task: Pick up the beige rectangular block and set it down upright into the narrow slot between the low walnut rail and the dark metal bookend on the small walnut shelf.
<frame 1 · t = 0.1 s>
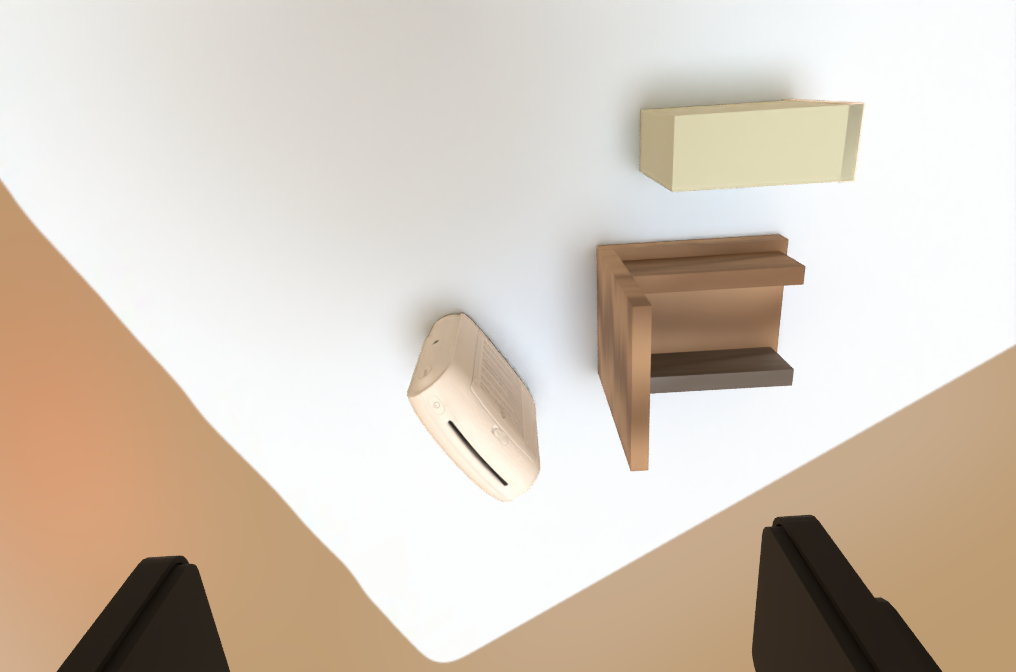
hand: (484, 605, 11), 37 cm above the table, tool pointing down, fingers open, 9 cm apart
beige rectangular block: (714, 136, 43), on the table
shelf: (685, 306, 47), on the table
photo printer: (480, 366, 49), on the table
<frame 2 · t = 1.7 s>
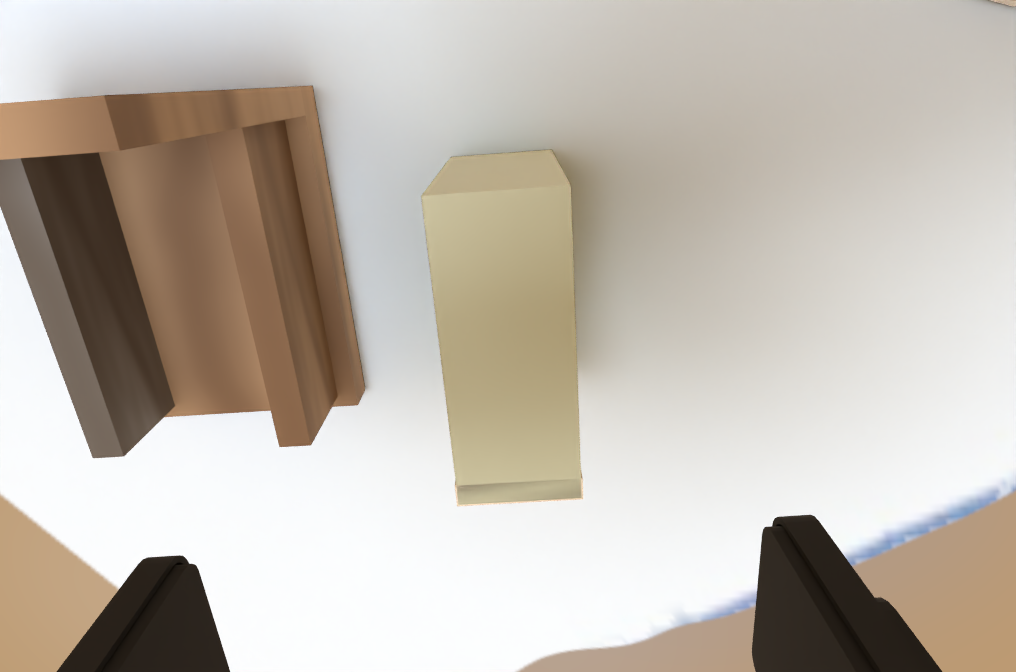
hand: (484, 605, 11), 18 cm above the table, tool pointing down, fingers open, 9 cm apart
beige rectangular block: (509, 274, 27), on the table
shelf: (224, 259, 27), on the table
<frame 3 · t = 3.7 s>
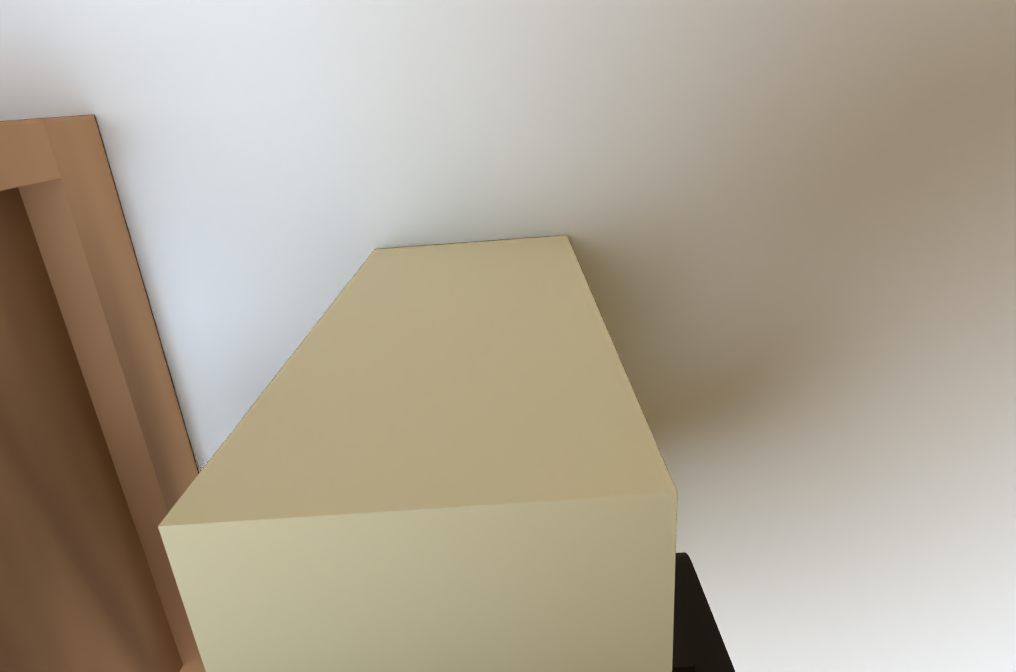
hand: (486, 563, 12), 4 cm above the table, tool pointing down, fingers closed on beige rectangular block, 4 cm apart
beige rectangular block: (490, 450, 15), on the table, touching gripper
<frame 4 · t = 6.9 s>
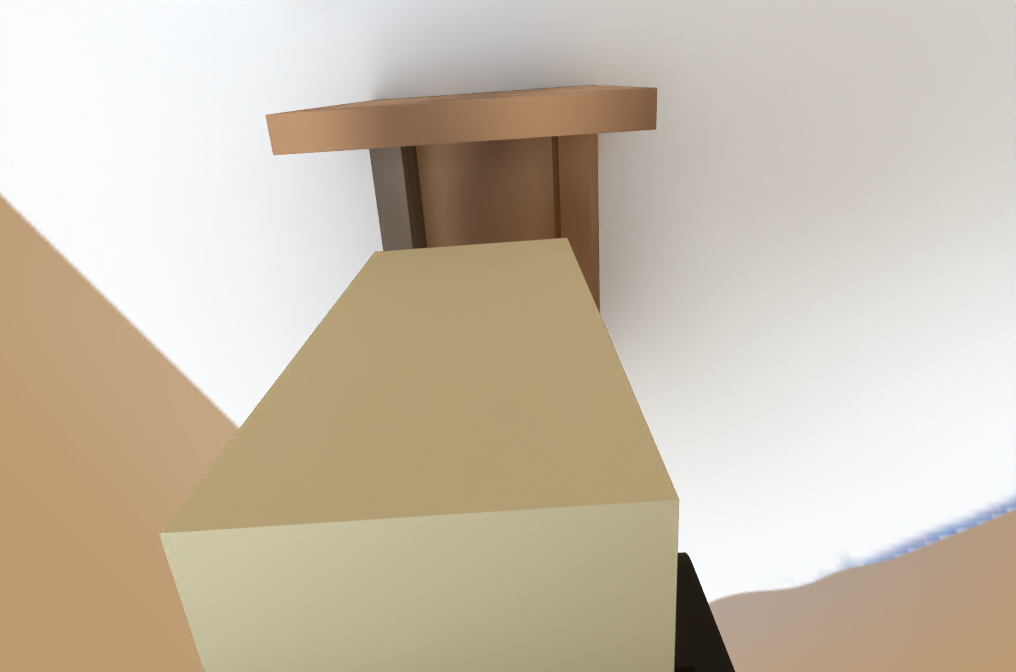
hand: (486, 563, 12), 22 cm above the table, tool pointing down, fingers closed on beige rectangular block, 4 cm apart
beige rectangular block: (490, 452, 15), point 18 cm above the table, touching gripper
shelf: (491, 235, 31), on the table
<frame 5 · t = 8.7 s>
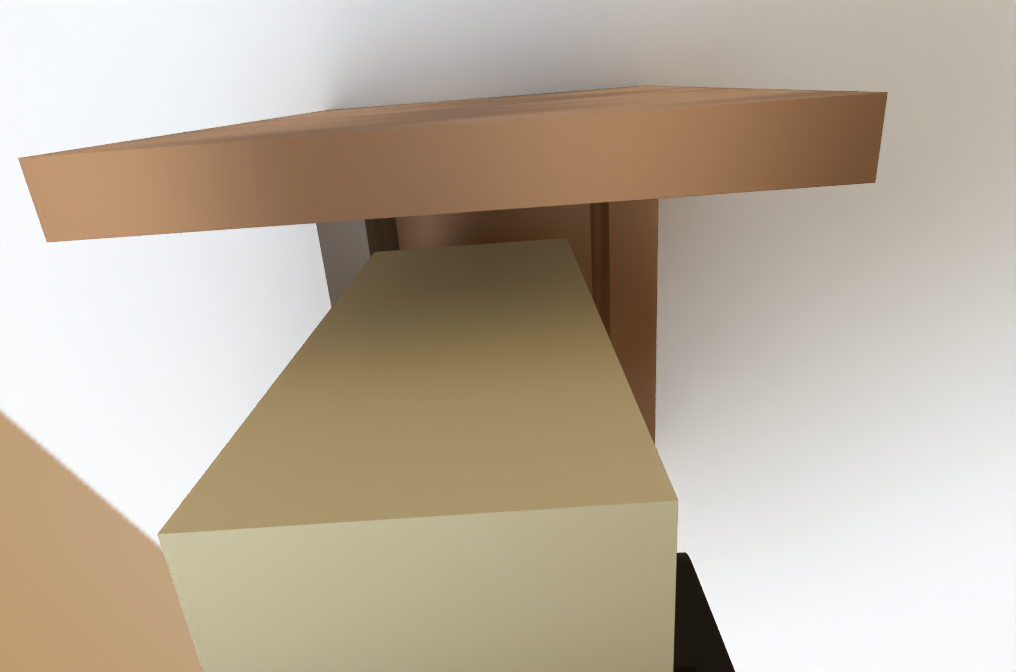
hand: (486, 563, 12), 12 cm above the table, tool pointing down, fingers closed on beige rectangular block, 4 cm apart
beige rectangular block: (490, 453, 15), point 8 cm above the table, touching gripper
shelf: (500, 297, 22), on the table
when the fingers open (7 cm above the table, at t = 10.4 s): beige rectangular block drops 1 cm, resting on shelf.
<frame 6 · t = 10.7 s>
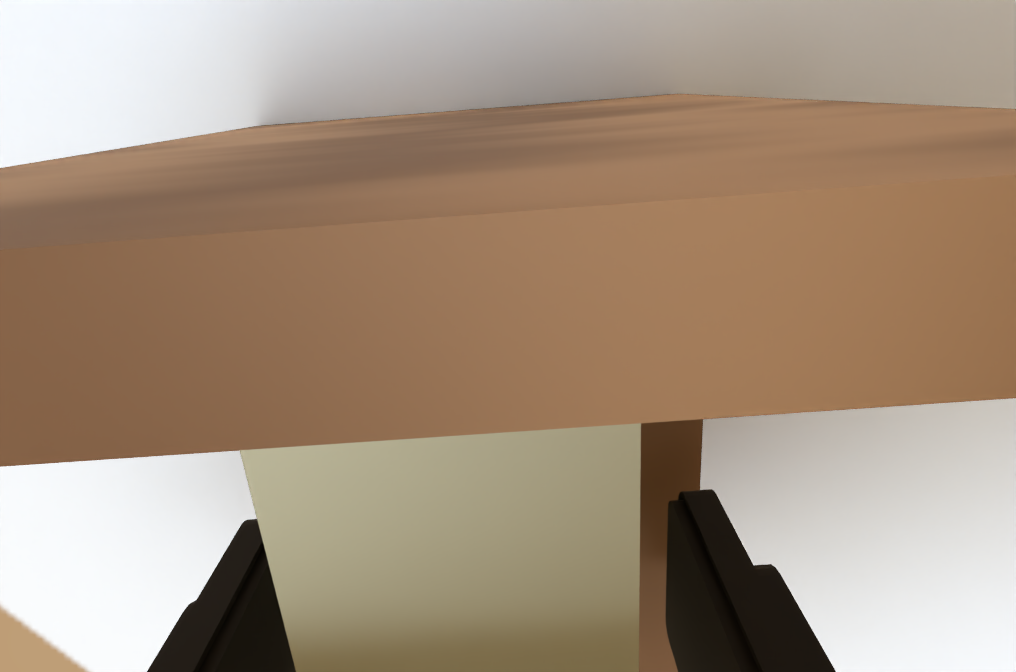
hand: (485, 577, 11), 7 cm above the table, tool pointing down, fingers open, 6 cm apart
beige rectangular block: (490, 419, 16), point 1 cm above the table, touching shelf
shelf: (488, 361, 18), on the table
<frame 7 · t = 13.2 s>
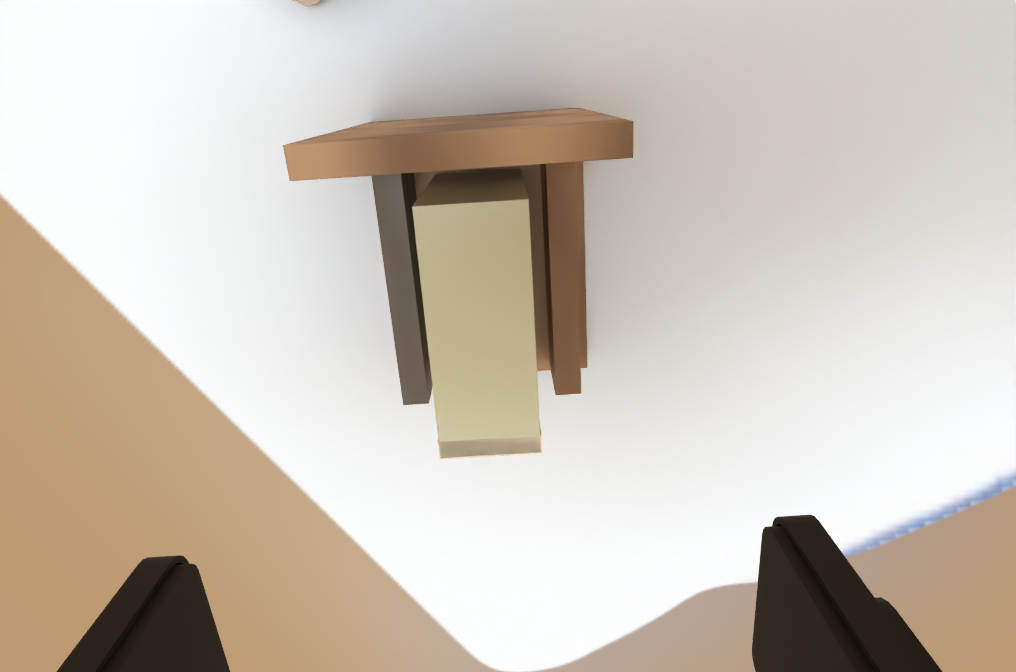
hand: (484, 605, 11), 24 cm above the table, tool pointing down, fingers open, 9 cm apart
beige rectangular block: (485, 273, 32), point 1 cm above the table, touching shelf
shelf: (484, 247, 33), on the table
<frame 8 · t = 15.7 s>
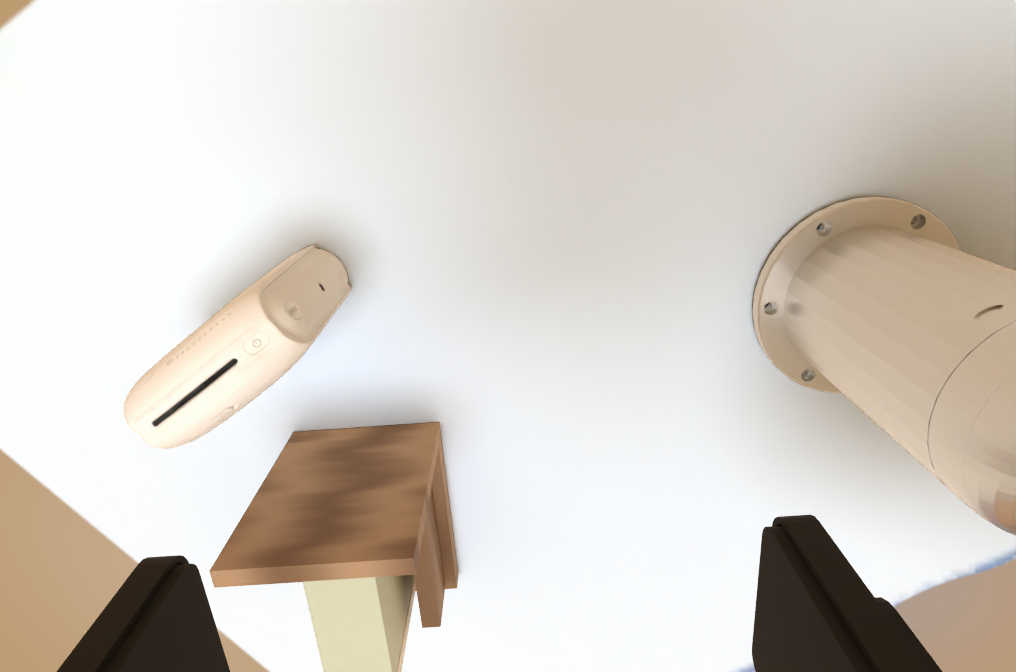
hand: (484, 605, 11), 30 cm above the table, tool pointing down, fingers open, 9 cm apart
beige rectangular block: (378, 530, 45), point 1 cm above the table, touching shelf
shelf: (379, 506, 46), on the table
photo printer: (282, 305, 41), on the table
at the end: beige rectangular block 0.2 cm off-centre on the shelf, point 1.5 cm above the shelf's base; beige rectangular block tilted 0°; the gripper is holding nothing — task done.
